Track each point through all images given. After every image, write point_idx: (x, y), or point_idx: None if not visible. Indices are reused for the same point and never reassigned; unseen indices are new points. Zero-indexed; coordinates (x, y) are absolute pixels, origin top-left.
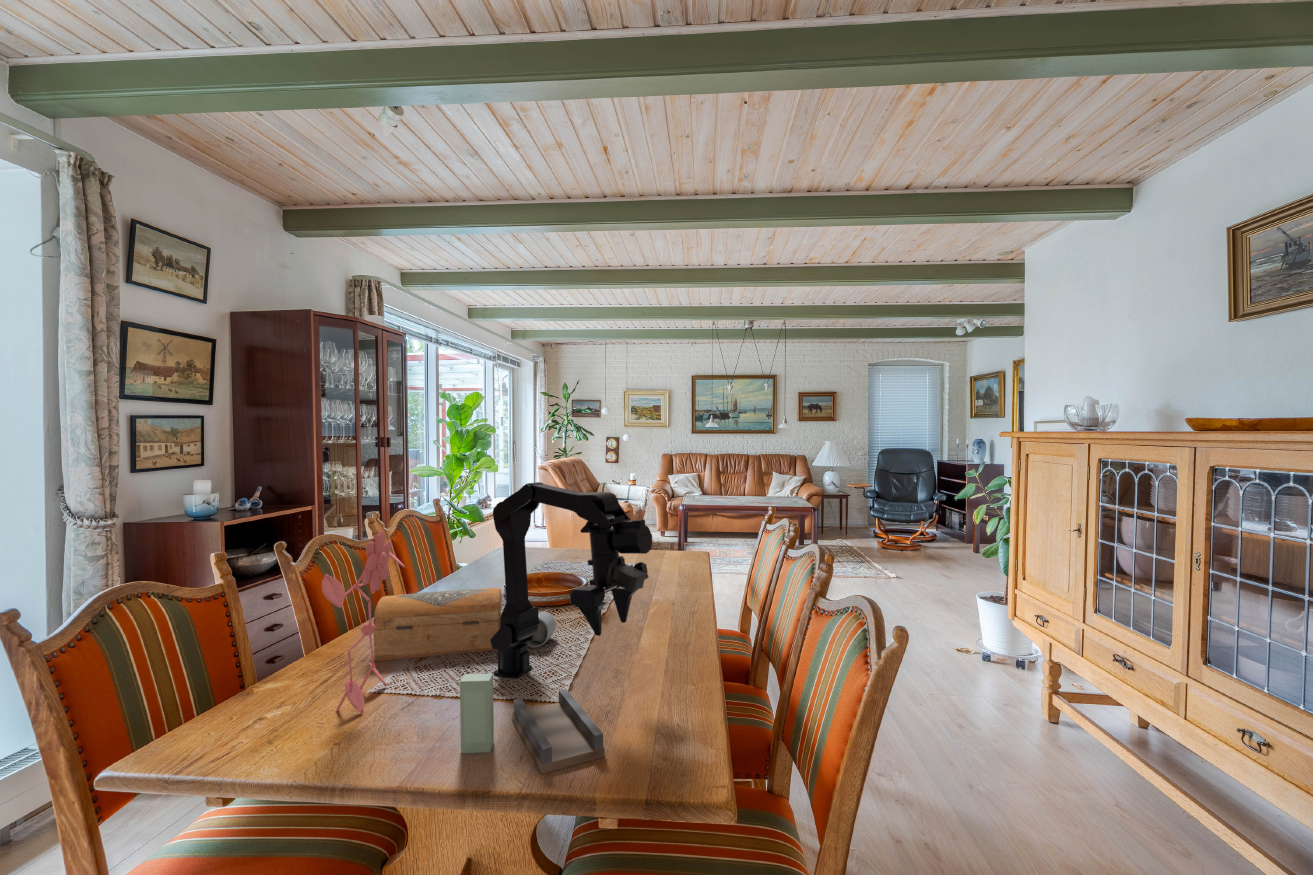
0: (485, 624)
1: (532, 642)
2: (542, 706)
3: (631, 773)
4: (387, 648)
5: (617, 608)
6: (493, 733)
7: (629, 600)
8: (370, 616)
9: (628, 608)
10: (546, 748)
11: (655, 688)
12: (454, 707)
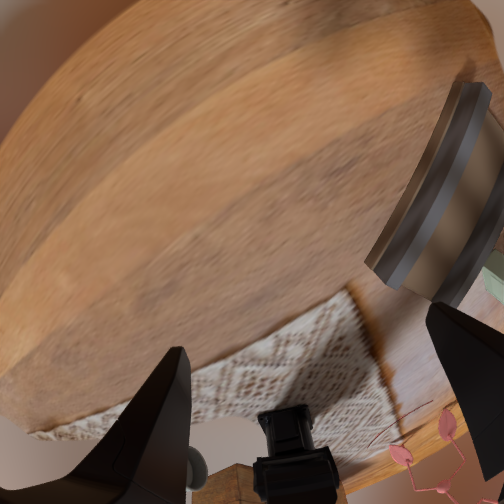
0: (256, 499)
1: (188, 455)
2: (408, 287)
3: (454, 26)
4: (336, 490)
5: (186, 445)
6: (491, 269)
7: (111, 457)
8: (450, 495)
9: (135, 406)
10: None
11: (151, 160)
12: (416, 378)
